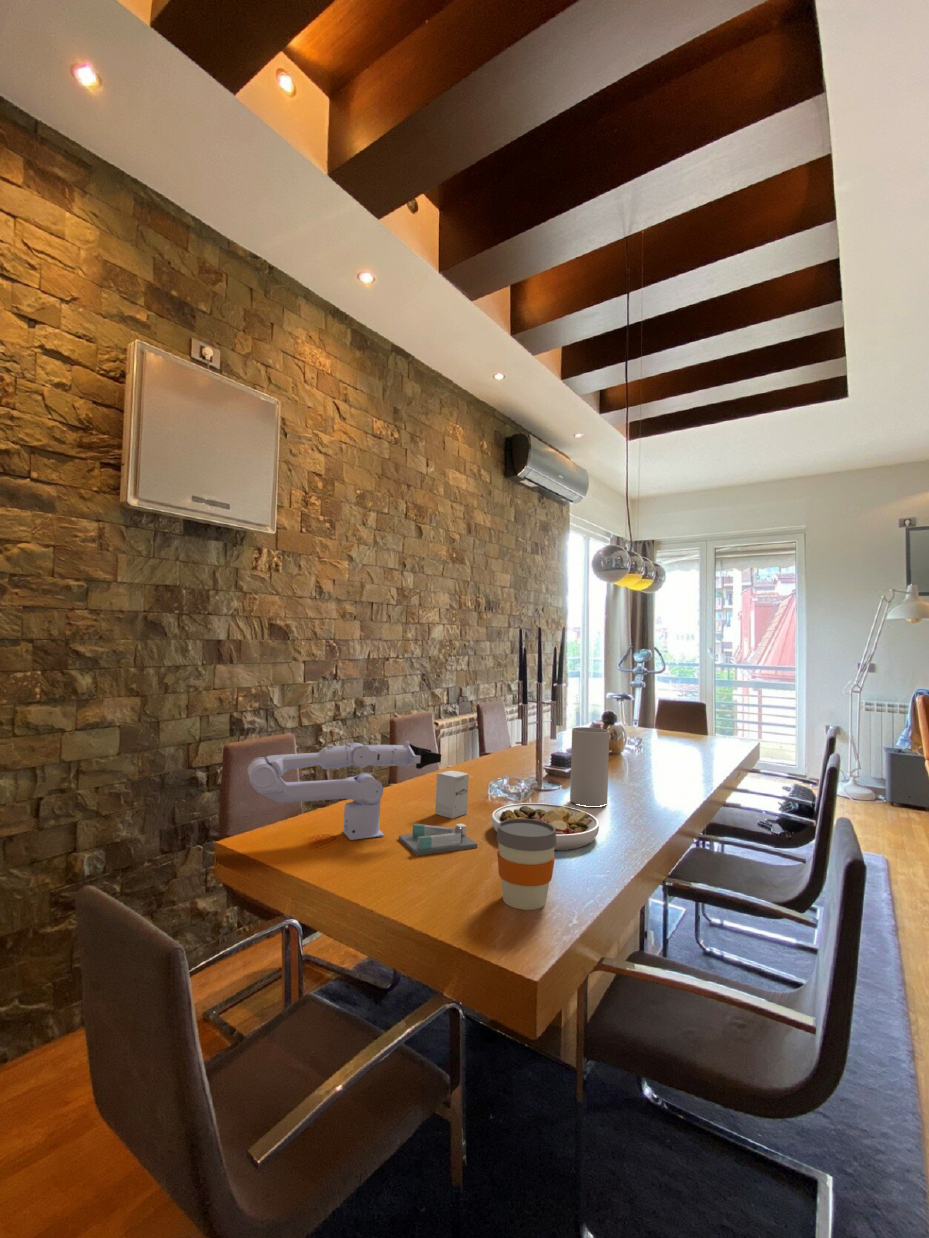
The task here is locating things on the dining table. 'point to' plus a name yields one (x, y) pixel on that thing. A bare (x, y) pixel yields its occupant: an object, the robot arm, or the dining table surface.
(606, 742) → the cylinder vase
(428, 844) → the tongs fixed
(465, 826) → the tab
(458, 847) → the slate board
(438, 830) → the tong arm
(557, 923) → the dining table surface
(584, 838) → the bowl
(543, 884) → the reusable coffee cup
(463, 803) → the supplement box
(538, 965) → the dining table surface
